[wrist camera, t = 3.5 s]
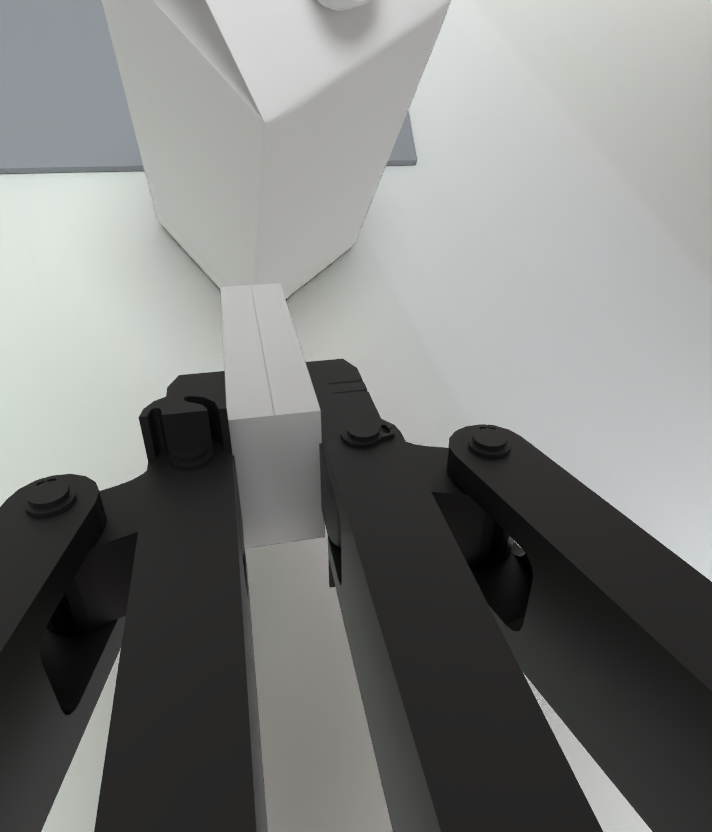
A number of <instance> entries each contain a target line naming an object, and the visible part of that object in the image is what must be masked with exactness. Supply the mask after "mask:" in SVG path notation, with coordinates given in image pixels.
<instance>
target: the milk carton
mask: <svg viewBox="0 0 712 832" xmlns="http://www.w3.org/2000/svg"><path fill="white" fill-rule="evenodd" d="M450 2H451V0H102V4H103V8H104V12H105V16H106V20H107V24H108V28H109V32H110V36H111V40H112V44H113V48H114V52H115V56H116V60H117V64H118V68H119V72H120V76H121V80H122V84H123V88H124V92H125V95H126V99H127V103H128V107H129V111H130V115H131V119H132V123H133V127H134V131H135V135H136V139H137V143H138V147H139V151H140V155H141V159H142V163H143V167H144V171H145V175H146V179H147V183H148V187H149V190H150V194H151V198H152V202H153V206H154V210H155V214H156V218H157V220H158V221H159V222H160V223H161V224H162V226H163V227H164V228H165V229H166V230H167V231H168V232H169V233H170V234H171V235H172V237H173V238H174V239H175V240H176V241H177V242H178V243H179V244H180V245H181V247H182V248H183V249H184V250H185V251H186V252H187V253H188V254H189V255H190V256H191V258H192V259H193V260H194V261H195V262H196V263H197V264H198V265H199V266H200V267H201V269H202V270H203V271H204V272H205V273H206V274H207V275H208V276H209V277H210V278H211V280H212V281H213V282H214V283H215V284H216V285H217V286H218V287H219V288H220V289H221V287H227V286H242V285H258V284H273V283H281V287H282V290H283V293H284V296H285V299H287V298H288V297H289V296H290V295H292V294H293V293H294V292H295V291H297V290H298V289H299V288H301V287H302V286H303V285H304V284H306V283H307V282H308V281H309V280H311V279H312V278H313V277H314V276H316V275H317V274H318V273H320V272H321V271H322V270H323V269H325V268H326V267H327V266H328V265H330V264H331V263H332V262H333V261H335V260H336V259H337V258H339V257H340V256H341V255H342V254H344V253H345V252H346V251H347V250H349V249H350V248H351V247H352V246H353V245H354V244H355V242H356V239H357V237H358V234H359V232H360V229H361V227H362V224H363V222H364V219H365V217H366V214H367V212H368V209H369V207H370V204H371V202H372V199H373V197H374V194H375V192H376V189H377V187H378V184H379V182H380V179H381V177H382V174H383V172H384V169H385V167H386V164H387V162H388V159H389V157H390V154H391V152H392V149H393V147H394V144H395V142H396V139H397V137H398V134H399V132H400V129H401V127H402V124H403V122H404V119H405V117H406V114H407V112H408V109H409V107H410V104H411V102H412V99H413V97H414V94H415V92H416V89H417V87H418V84H419V82H420V79H421V77H422V74H423V72H424V69H425V67H426V64H427V62H428V59H429V57H430V54H431V52H432V49H433V47H434V44H435V42H436V39H437V37H438V34H439V32H440V29H441V26H442V24H443V21H444V19H445V16H446V13H447V10H448V7H449V5H450Z"/></svg>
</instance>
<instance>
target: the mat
mask: <svg viewBox="0 0 712 832" xmlns="http://www.w3.org/2000/svg"><path fill="white" fill-rule="evenodd" d="M416 162H417V157H416V151H415V145H414V140H413V134H412V129H411V123H410V117H409V112H407V114H406V117H405V119H404V122H403V124H402V127H401V129H400V132H399V134H398V137H397V139H396V142H395V144H394V147H393V149H392V152H391V154H390V157H389V159H388V162H387V164H386V165H416ZM104 171H144V167H143V163H142V159H141V155H140V151H139V147H138V143H137V139H136V135H135V131H134V127H133V123H132V119H131V115H130V111H129V107H128V103H127V99H126V95H125V92H124V88H123V84H122V80H121V76H120V72H119V68H118V64H117V60H116V56H115V52H114V48H113V44H112V40H111V36H110V32H109V28H108V24H107V20H106V16H105V12H104V8H103V4H102V0H0V174H10V173H57V172H104Z"/></svg>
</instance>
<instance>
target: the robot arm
mask: <svg viewBox="0 0 712 832" xmlns="http://www.w3.org/2000/svg"><path fill="white" fill-rule="evenodd" d="M221 306H222V327H223V347H224V368H225V371H221V372H210V373H199V374H187V375H179V376H178V377H177V378H176V379H175V380H174V381H173V382H172V383H171V384H170V385H169V386H168V388H167V395H166V397H164V398H161V399H159V400H156V401H154V402H153V403H151V404H150V405H148V406H147V407H146V408H144V409H143V411H142V413H141V414H140V416H139V421H140V425H141V430H142V435H143V439H144V444H145V449H146V453H147V458H148V467H147V471H146V472H145V473H144V474H142V475H140V476H139V477H137V478H135V479H133V480H131V481H129V482H126V483H123V484H121V485H118V486H115V487H112V488H108V489H105V490H102V491H99V489H98V487H97V485H96V482H94V481H93V480H91V479H89V478H88V477H86V476H81V475H74V474H65V475H54V476H50V477H46V478H42V479H39V480H36V481H34V482H32V483H30V484H28V485H26V486H24V487H22V488H20V489H19V490H17V491H16V492H15V493H14V494H13V495H12V496H10V497H9V498H8V499H7V500H6V501H5V502H4V503H3V505H2V506H1V507H0V832H41V830H42V828H43V826H44V823H45V821H46V819H47V816H48V814H49V812H50V810H51V807H52V805H53V803H54V800H55V798H56V796H57V793H58V791H59V789H60V786H61V784H62V782H63V780H64V777H65V775H66V773H67V770H68V768H69V766H70V763H71V761H72V759H73V757H74V754H75V752H76V750H77V747H78V745H79V743H80V740H81V738H82V736H83V733H84V731H85V729H86V727H87V724H88V722H89V720H90V717H91V715H92V713H93V710H94V708H95V706H96V704H97V701H98V699H99V697H100V694H101V692H102V690H103V687H104V685H105V683H106V680H107V678H108V676H109V674H110V671H111V669H112V667H113V664H114V662H115V660H116V657H117V655H118V653H119V651H120V648H121V652H120V659H119V666H118V673H117V680H116V687H115V694H114V700H113V707H112V714H111V721H110V728H109V735H108V742H107V748H106V755H105V762H104V769H103V776H102V783H101V789H100V796H99V803H98V810H97V817H96V824H95V831H94V832H268V829H267V816H266V804H265V791H264V778H263V765H262V752H261V740H260V727H259V714H258V701H257V688H256V676H255V663H254V650H253V637H252V624H251V612H250V599H249V586H248V573H247V564H246V556H245V548H251V547H258V546H265V545H272V544H279V543H286V542H293V541H300V540H307V539H314V538H321V537H325V525H326V529H327V533H328V556H329V587H335V586H336V591H337V595H338V599H339V603H340V608H341V612H342V616H343V620H344V625H345V629H346V633H347V637H348V642H349V646H350V650H351V654H352V659H353V663H354V667H355V671H356V676H357V680H358V684H359V688H360V693H361V697H362V701H363V705H364V710H365V714H366V718H367V722H368V727H369V731H370V735H371V740H372V744H373V748H374V752H375V757H376V761H377V765H378V769H379V774H380V778H381V782H382V786H383V791H384V795H385V799H386V803H387V808H388V812H389V816H390V820H391V825H392V829H393V832H603V830H602V828H601V826H600V825H599V823H598V821H597V819H596V817H595V815H594V813H593V811H592V809H591V807H590V805H589V803H588V801H587V799H586V797H585V795H584V793H583V791H582V789H581V787H580V785H579V783H578V781H577V779H576V777H575V775H574V773H573V771H572V769H571V767H570V765H569V763H568V761H567V759H566V757H565V755H564V753H563V751H562V749H561V747H560V746H559V744H558V742H557V740H556V738H555V736H554V734H553V732H552V730H551V728H550V726H549V724H548V722H547V720H546V718H545V716H544V714H543V712H542V710H541V708H540V706H539V704H538V702H537V700H536V698H535V696H534V694H533V692H532V690H531V688H530V686H529V684H528V682H527V680H526V678H525V676H524V674H525V675H526V676H527V678H528V679H529V680H530V681H531V683H532V684H533V685H534V686H535V687H536V689H537V690H538V691H539V692H540V694H541V695H542V696H543V697H544V699H545V700H546V701H547V702H548V703H549V705H550V706H551V707H552V708H553V710H554V711H555V712H556V713H557V715H558V716H559V717H560V718H561V719H562V721H563V722H564V723H565V724H566V726H567V727H568V728H569V729H570V731H571V732H572V733H573V734H574V735H575V737H576V738H577V739H578V740H579V742H580V743H581V744H582V745H583V747H584V748H585V749H586V750H587V751H588V753H589V754H590V755H591V756H592V758H593V759H594V760H595V761H596V763H597V764H598V765H599V766H600V767H601V769H602V770H603V771H604V772H605V774H606V775H607V776H608V777H609V779H610V780H611V781H612V782H613V783H614V785H615V786H616V787H617V788H618V790H619V791H620V792H621V793H622V795H623V796H624V797H625V798H626V799H627V801H628V802H629V803H630V804H631V806H632V807H633V808H634V809H635V811H636V812H637V813H638V814H639V815H640V817H641V818H642V819H643V820H644V822H645V823H646V824H647V825H648V827H649V828H650V829H651V830H652V831H653V832H712V582H711V581H710V580H709V579H707V578H706V577H705V576H703V575H702V574H701V573H699V572H698V571H697V570H695V569H694V568H693V567H692V566H690V565H689V564H688V563H686V562H685V561H684V560H682V559H681V558H680V557H678V556H677V555H676V554H675V553H673V552H672V551H671V550H669V549H668V548H667V547H665V546H664V545H663V544H661V543H660V542H659V541H657V540H656V539H655V538H654V537H652V536H651V535H650V534H648V533H647V532H646V531H644V530H643V529H642V528H640V527H639V526H638V525H636V524H635V523H634V522H633V521H631V520H630V519H629V518H627V517H626V516H625V515H623V514H622V513H621V512H619V511H618V510H617V509H615V508H614V507H613V506H612V505H610V504H609V503H608V502H606V501H605V500H604V499H602V498H601V497H600V496H598V495H597V494H596V493H594V492H593V491H592V490H591V489H589V488H588V487H587V486H585V485H584V484H583V483H581V482H580V481H579V480H577V479H576V478H575V477H573V476H572V475H571V474H570V473H568V472H567V471H566V470H564V469H563V468H562V467H560V466H559V465H558V464H556V463H555V462H554V461H552V460H551V459H550V458H549V457H547V456H546V455H545V454H543V453H542V452H541V451H539V450H538V449H537V448H535V447H534V446H533V445H532V444H530V443H529V442H528V441H526V440H525V439H524V438H522V437H521V436H519V435H517V434H516V433H514V432H512V431H510V430H508V429H504V428H501V427H497V426H494V425H474V426H467V427H464V428H462V429H459V430H457V431H455V432H454V434H453V435H452V436H451V437H450V439H449V448H441V447H429V446H421V445H415V444H411V443H408V442H406V441H405V439H404V437H403V435H402V434H401V432H400V431H399V430H398V429H397V428H396V426H395V425H393V424H391V423H389V422H387V421H385V420H382V419H381V418H380V415H379V413H378V411H377V409H376V407H375V405H374V403H373V401H372V399H371V397H370V394H369V392H367V388H366V386H365V384H364V382H363V380H362V378H361V376H360V373H359V371H358V369H357V368H356V367H354V366H353V365H351V364H350V363H348V362H347V361H345V360H344V359H336V360H324V361H313V362H305V359H304V356H303V353H302V350H301V347H300V344H299V340H298V337H297V334H296V331H295V328H294V325H293V321H292V318H291V315H290V312H289V309H288V306H287V302H286V299H285V296H284V293H283V290H282V287H281V283H273V284H258V285H242V286H227V287H221ZM324 521H325V525H324ZM514 541H515V542H516V543H517V544H518V545H519V546H520V547H521V548H522V549H521V548H520V547H519V546H518V545H517V544H516V543H515V542H514ZM522 671H523V672H522ZM523 673H524V674H523Z"/></svg>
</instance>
